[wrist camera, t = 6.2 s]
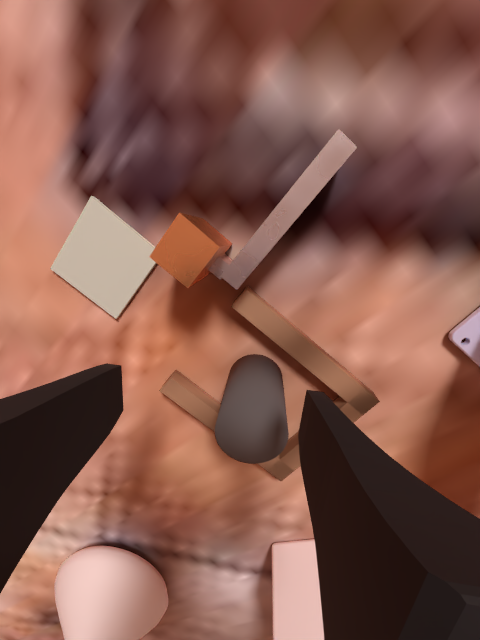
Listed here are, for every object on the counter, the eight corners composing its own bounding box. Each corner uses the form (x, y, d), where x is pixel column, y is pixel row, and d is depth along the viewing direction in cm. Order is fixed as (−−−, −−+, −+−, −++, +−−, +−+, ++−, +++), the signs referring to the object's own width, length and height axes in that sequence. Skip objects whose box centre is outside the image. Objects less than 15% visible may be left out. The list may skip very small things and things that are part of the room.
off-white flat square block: (163, 253, 18) (161, 253, 18) (118, 317, 20) (116, 319, 20) (93, 196, 18) (91, 195, 17) (53, 268, 19) (50, 268, 19)
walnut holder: (373, 392, 20) (379, 401, 19) (280, 469, 23) (281, 481, 22) (247, 285, 18) (245, 289, 17) (165, 382, 21) (159, 390, 20)
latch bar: (340, 163, 16) (372, 131, 11) (231, 293, 19) (219, 313, 14) (283, 107, 15) (291, 49, 10) (180, 251, 18) (149, 256, 13)
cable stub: (293, 377, 20) (304, 433, 14) (258, 411, 21) (255, 475, 16) (252, 343, 20) (246, 388, 14) (218, 380, 21) (200, 434, 15)
